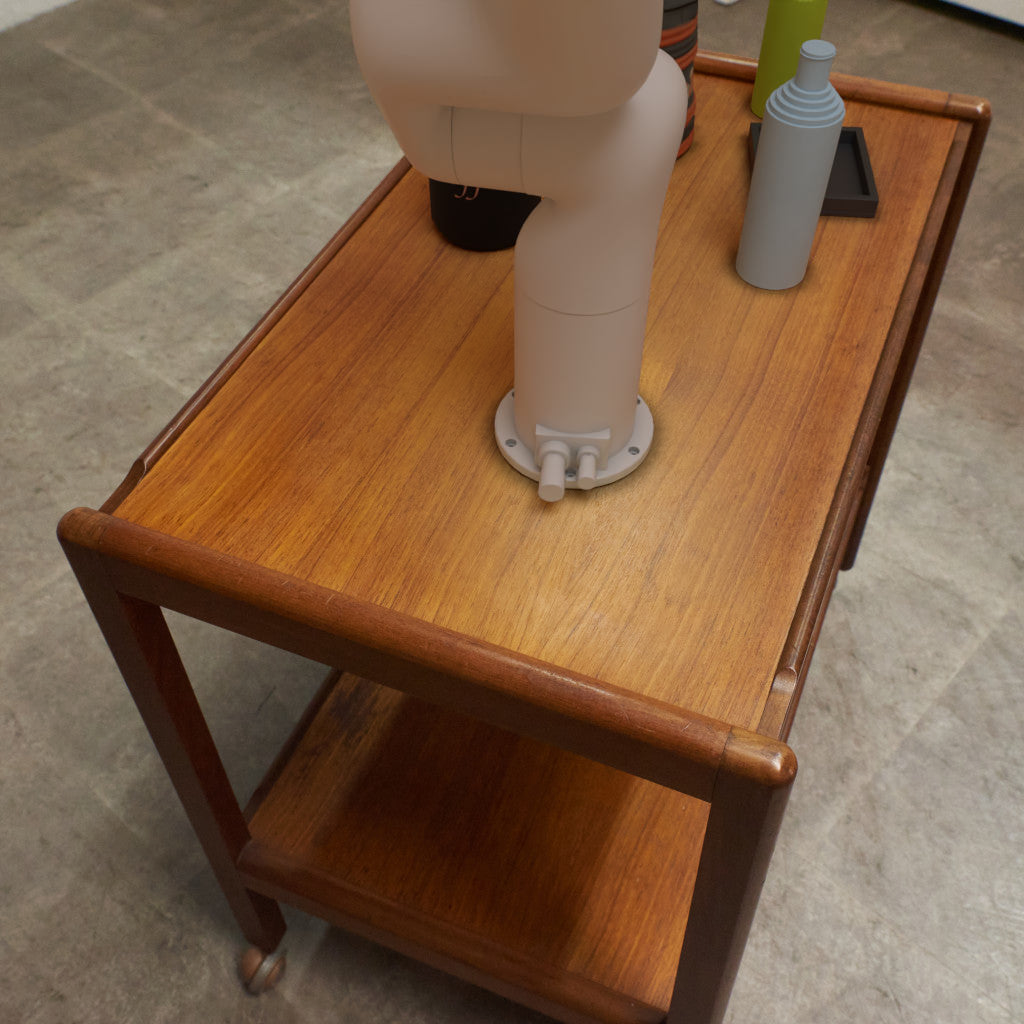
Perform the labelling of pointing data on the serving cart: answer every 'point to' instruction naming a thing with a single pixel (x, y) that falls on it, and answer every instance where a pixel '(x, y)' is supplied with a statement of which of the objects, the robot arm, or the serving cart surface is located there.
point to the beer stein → (682, 52)
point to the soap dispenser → (784, 44)
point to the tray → (841, 175)
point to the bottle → (791, 172)
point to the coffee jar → (479, 215)
